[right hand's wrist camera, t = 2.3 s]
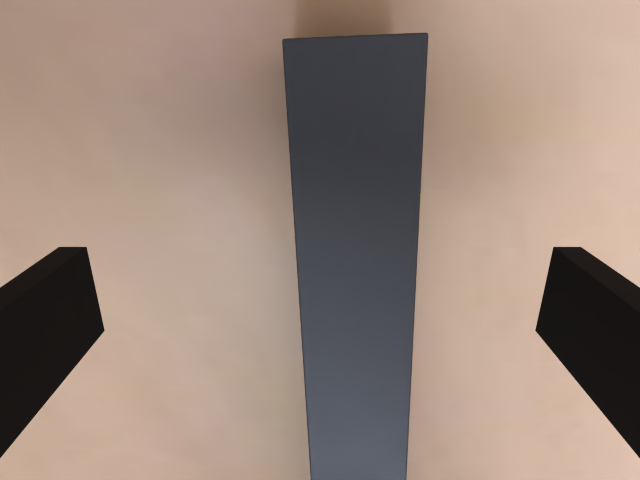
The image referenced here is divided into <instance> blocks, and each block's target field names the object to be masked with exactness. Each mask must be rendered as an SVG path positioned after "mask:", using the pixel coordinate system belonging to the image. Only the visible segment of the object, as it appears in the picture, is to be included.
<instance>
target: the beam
mask: <svg viewBox="0 0 640 480" xmlns="http://www.w3.org/2000/svg"><path fill="white" fill-rule="evenodd" d="M282 44H283V60H284V75H285V90H286V106H287V121H288V136H289V151H290V167H291V182H292V197H293V213H294V228H295V243H296V259H297V274H298V289H299V305H300V320H301V335H302V350H303V366H304V381H305V396H306V412H307V427H308V442H309V458H310V473H311V480H406V472H407V452H408V432H409V412H410V392H411V372H412V351H413V331H414V311H415V291H416V271H417V250H418V230H419V210H420V190H421V170H422V150H423V129H424V109H425V89H426V69H427V49H428V33H406V34H382V35H359V36H335V37H312V38H289V39H283V41H282Z"/></svg>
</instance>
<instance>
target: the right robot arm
mask: <svg viewBox="0 0 640 480" xmlns="http://www.w3.org/2000/svg"><path fill="white" fill-rule="evenodd" d="M103 332H104V326H103V321H102V317H101V312H100V308H99V303H98V298H97V294H96V289H95V284H94V280H93V275H92V270H91V266H90V261H89V257H88V252H87V247H59V248H57V249H56V250H54V251H53V252H51V253H50V254H48V255H47V256H45V257H44V258H43V259H41V260H40V261H38V262H37V263H35V264H34V265H32V266H31V267H30V268H28V269H27V270H25V271H24V272H22V273H21V274H19V275H18V276H17V277H15V278H14V279H12V280H11V281H9V282H8V283H6V284H5V285H3V286H2V287H1V288H0V458H1V457H2V455H3V454H4V453H5V452H6V450H7V449H8V448H9V447H10V446H11V444H12V443H13V442H14V441H15V439H16V438H17V437H18V436H19V435H20V433H21V432H22V431H23V430H24V428H25V427H26V426H27V425H28V424H29V422H30V421H31V420H32V419H33V417H34V416H35V415H36V414H37V413H38V411H39V410H40V409H41V408H42V406H43V405H44V404H45V403H46V402H47V400H48V399H49V398H50V397H51V395H52V394H53V393H54V392H55V391H56V389H57V388H58V387H59V386H60V384H61V383H62V382H63V381H64V380H65V378H66V377H67V376H68V375H69V373H70V372H71V371H72V370H73V368H74V367H75V366H76V365H77V364H78V362H79V361H80V360H81V359H82V357H83V356H84V355H85V354H86V353H87V351H88V350H89V349H90V348H91V346H92V345H93V344H94V343H95V342H96V340H97V339H98V338H99V337H100V335H101V334H102V333H103ZM536 332H537V333H538V334H539V335H540V337H541V338H542V339H543V340H544V342H545V343H546V344H547V345H548V346H549V348H550V349H551V350H552V351H553V353H554V354H555V355H556V356H557V357H558V359H559V360H560V361H561V362H562V364H563V365H564V366H565V367H566V368H567V370H568V371H569V372H570V373H571V375H572V376H573V377H574V378H575V380H576V381H577V382H578V383H579V384H580V386H581V387H582V388H583V389H584V391H585V392H586V393H587V394H588V395H589V397H590V398H591V399H592V400H593V402H594V403H595V404H596V405H597V406H598V408H599V409H600V410H601V411H602V413H603V414H604V415H605V416H606V417H607V419H608V420H609V421H610V422H611V424H612V425H613V426H614V427H615V428H616V430H617V431H618V432H619V433H620V435H621V436H622V437H623V438H624V439H625V441H626V442H627V443H628V444H629V446H630V447H631V448H632V449H633V450H634V452H635V453H636V454H637V455H638V457H639V458H640V288H639V287H638V286H637V285H635V284H634V283H632V282H631V281H629V280H628V279H626V278H625V277H623V276H622V275H621V274H619V273H618V272H616V271H615V270H613V269H612V268H610V267H609V266H608V265H606V264H605V263H603V262H602V261H600V260H599V259H597V258H596V257H595V256H593V255H592V254H590V253H589V252H587V251H586V250H584V249H583V248H581V247H553V252H552V257H551V261H550V266H549V270H548V275H547V280H546V284H545V289H544V294H543V298H542V303H541V308H540V312H539V317H538V321H537V326H536Z"/></svg>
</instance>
